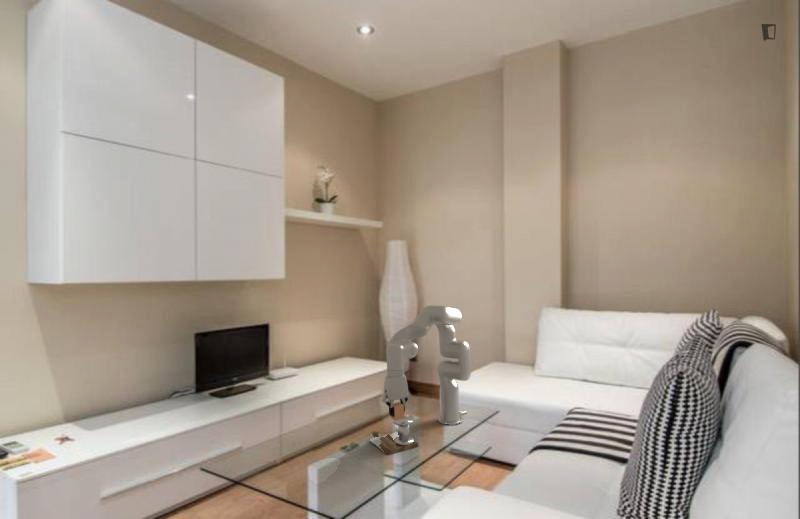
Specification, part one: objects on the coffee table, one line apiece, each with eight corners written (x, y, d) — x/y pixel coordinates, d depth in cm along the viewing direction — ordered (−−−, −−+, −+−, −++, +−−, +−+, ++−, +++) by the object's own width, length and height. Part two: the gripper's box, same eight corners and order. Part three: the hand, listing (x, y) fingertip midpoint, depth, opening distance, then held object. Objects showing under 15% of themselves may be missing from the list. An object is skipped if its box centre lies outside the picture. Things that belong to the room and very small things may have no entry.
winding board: (398, 433, 217) (398, 425, 217) (418, 446, 202) (418, 437, 202) (369, 441, 210) (368, 432, 210) (387, 455, 194) (386, 445, 194)
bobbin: (407, 436, 210) (406, 415, 210) (417, 442, 202) (417, 420, 202) (390, 440, 206) (390, 418, 206) (400, 447, 198) (399, 424, 198)
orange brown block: (399, 415, 197) (398, 402, 197) (404, 418, 194) (403, 404, 194) (390, 417, 195) (390, 404, 195) (395, 420, 191) (394, 406, 191)
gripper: (407, 368, 202) (409, 408, 202) (374, 373, 194) (375, 416, 194) (416, 371, 195) (418, 413, 195) (382, 377, 187) (383, 421, 187)
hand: (397, 414), depth 194 cm, fingers closed on orange brown block, 4 cm apart
